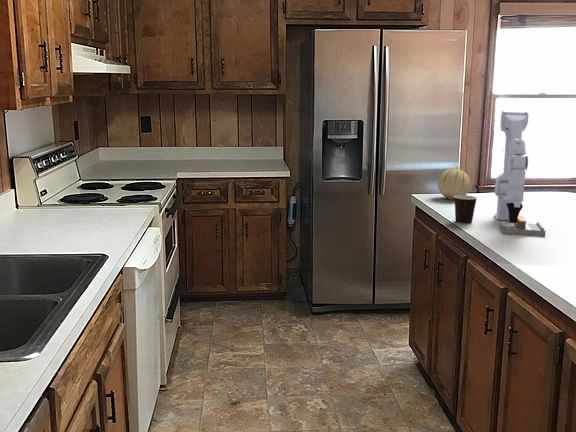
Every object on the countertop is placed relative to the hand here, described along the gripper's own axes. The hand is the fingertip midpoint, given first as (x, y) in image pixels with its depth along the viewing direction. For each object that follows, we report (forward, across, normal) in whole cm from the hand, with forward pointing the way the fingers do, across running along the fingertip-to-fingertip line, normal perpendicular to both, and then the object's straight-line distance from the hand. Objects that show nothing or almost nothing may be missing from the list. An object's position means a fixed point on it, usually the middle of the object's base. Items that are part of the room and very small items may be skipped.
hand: (512, 222), depth 242 cm
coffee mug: (+4, -11, -18) cm, 21 cm away
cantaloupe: (+4, -60, -19) cm, 63 cm away
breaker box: (+3, 0, +3) cm, 5 cm away
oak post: (+3, -10, +1) cm, 11 cm away
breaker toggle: (+1, 0, +3) cm, 3 cm away
